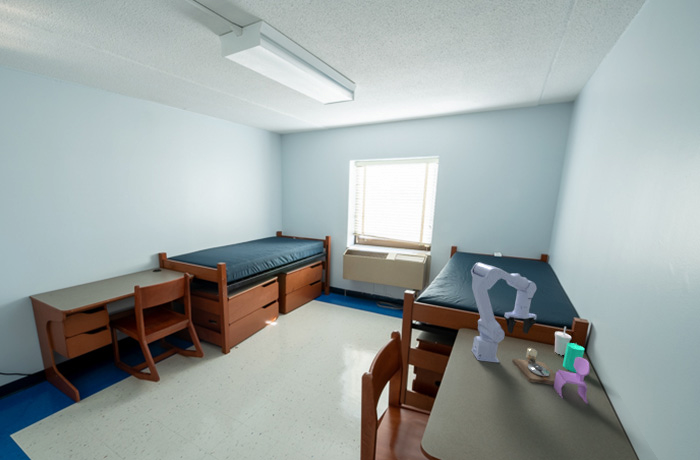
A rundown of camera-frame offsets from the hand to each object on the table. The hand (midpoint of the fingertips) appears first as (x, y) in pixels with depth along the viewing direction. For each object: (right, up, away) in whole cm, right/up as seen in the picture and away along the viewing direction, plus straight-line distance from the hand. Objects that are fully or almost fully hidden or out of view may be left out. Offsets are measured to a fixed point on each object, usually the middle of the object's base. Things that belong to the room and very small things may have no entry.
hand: (517, 332), depth 127 cm
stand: (0, -12, -13) cm, 18 cm away
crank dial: (0, -10, -12) cm, 16 cm away
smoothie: (+23, -12, +5) cm, 27 cm away
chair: (+4, -15, -24) cm, 29 cm away
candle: (+19, -13, -7) cm, 25 cm away
